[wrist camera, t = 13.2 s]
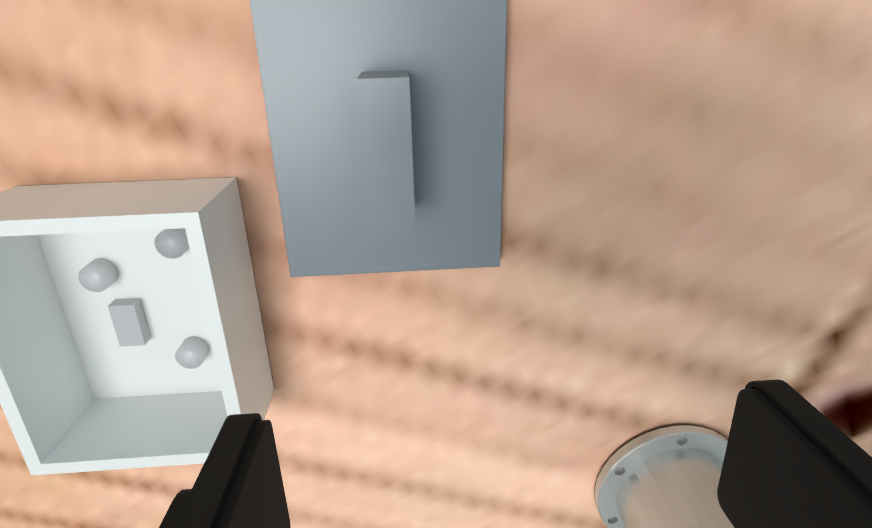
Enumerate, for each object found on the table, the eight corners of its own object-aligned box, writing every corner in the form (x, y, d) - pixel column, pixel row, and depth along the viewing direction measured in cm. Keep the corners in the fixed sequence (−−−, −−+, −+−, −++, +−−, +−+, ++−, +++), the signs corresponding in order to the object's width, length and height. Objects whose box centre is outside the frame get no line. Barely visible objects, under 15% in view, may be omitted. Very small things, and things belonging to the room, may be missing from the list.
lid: (495, 255, 37) (515, 301, 30) (295, 265, 36) (274, 314, 30) (501, -16, 30) (529, -29, 24) (256, -11, 29) (218, -23, 23)
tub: (273, 390, 39) (250, 459, 33) (91, 401, 38) (31, 475, 32) (236, 177, 33) (198, 212, 26) (16, 186, 32) (-78, 224, 26)
